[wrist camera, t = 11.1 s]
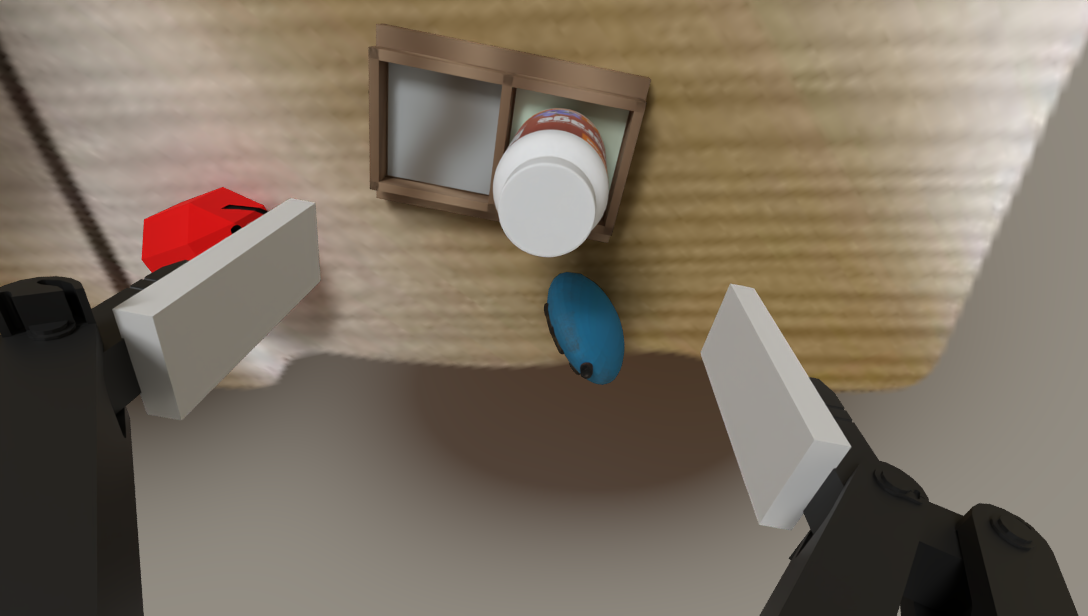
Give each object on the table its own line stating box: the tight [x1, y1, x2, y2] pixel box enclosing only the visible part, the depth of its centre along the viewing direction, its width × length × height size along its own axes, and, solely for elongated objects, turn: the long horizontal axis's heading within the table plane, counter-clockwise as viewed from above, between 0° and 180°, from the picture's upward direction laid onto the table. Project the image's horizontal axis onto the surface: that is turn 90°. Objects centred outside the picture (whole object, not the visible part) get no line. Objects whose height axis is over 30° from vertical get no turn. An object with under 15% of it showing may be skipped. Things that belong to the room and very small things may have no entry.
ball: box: [142, 187, 267, 273], centre depth 36 cm, size 8×8×8 cm
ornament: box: [544, 272, 624, 385], centre depth 35 cm, size 8×5×10 cm, turn 33°
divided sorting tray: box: [369, 24, 651, 243], centre depth 33 cm, size 17×11×3 cm, turn 80°
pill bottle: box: [493, 108, 609, 257], centre depth 28 cm, size 6×6×11 cm
